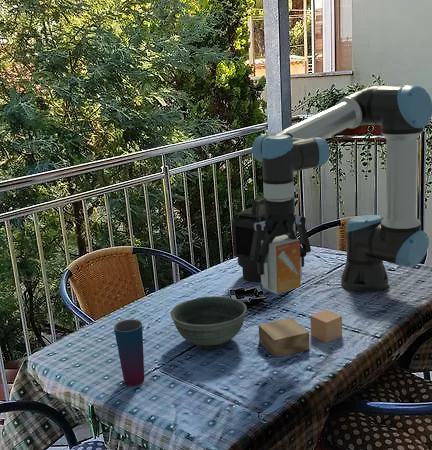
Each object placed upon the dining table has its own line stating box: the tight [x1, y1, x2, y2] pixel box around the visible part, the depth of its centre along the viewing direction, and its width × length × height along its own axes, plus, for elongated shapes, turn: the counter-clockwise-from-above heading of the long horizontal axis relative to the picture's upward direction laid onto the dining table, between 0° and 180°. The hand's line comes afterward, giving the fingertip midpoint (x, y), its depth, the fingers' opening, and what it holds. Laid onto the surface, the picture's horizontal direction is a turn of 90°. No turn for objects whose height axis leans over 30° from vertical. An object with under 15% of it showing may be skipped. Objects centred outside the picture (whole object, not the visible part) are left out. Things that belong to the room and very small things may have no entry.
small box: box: [261, 235, 301, 295], centre depth 152 cm, size 8×6×13 cm
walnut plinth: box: [258, 317, 310, 359], centre depth 158 cm, size 10×10×5 cm
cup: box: [113, 318, 145, 387], centre depth 144 cm, size 7×7×15 cm
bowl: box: [170, 295, 248, 350], centre depth 162 cm, size 21×21×10 cm
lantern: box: [230, 194, 294, 284], centre depth 204 cm, size 15×18×30 cm
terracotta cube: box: [310, 309, 343, 343], centre depth 162 cm, size 6×6×6 cm
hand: (281, 282), depth 153 cm, fingers closed on small box, 9 cm apart
